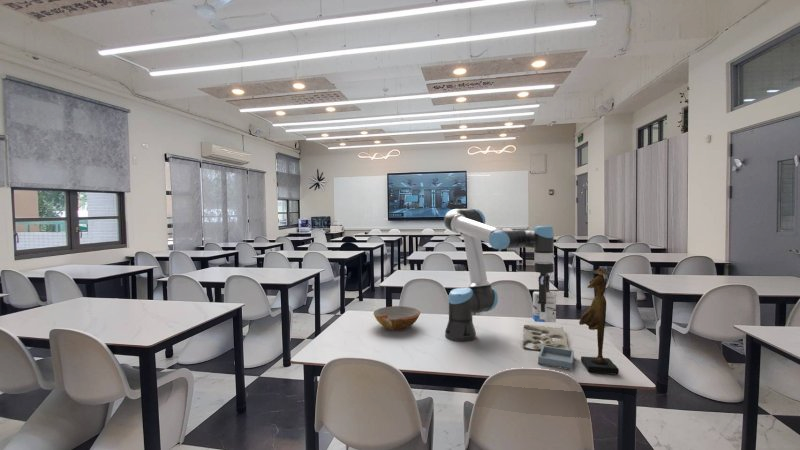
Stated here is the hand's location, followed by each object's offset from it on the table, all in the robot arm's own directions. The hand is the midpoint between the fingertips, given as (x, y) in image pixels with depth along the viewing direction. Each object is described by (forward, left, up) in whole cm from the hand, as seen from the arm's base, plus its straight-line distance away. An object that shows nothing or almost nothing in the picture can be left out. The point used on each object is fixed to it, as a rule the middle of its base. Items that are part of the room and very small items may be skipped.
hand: (544, 317), depth 155 cm
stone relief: (-3, +24, -19) cm, 31 cm away
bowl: (-75, +8, -18) cm, 78 cm away
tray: (+5, 0, -18) cm, 19 cm away
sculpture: (+20, 0, -18) cm, 27 cm away
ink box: (0, 0, -2) cm, 2 cm away
